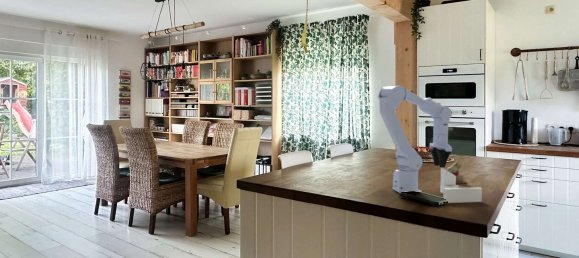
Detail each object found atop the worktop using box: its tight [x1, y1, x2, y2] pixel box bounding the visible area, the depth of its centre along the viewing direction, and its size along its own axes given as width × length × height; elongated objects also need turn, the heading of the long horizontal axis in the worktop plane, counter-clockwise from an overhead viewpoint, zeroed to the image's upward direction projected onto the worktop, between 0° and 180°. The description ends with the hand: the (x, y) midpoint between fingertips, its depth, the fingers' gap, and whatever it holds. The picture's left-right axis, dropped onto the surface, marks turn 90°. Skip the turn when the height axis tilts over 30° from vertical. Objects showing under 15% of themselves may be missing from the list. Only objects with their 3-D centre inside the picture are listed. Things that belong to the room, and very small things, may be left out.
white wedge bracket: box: [439, 167, 460, 194], centre depth 151 cm, size 4×10×9 cm, turn 105°
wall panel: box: [442, 186, 483, 204], centre depth 138 cm, size 14×2×5 cm, turn 97°
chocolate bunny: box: [446, 160, 468, 184], centre depth 173 cm, size 6×8×10 cm
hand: (439, 166), depth 159 cm, fingers open, 4 cm apart
